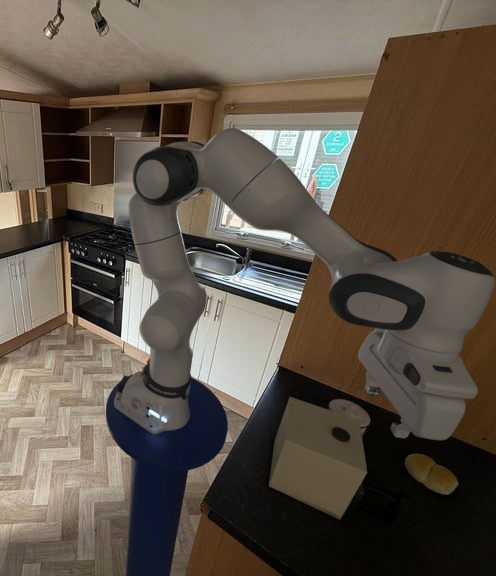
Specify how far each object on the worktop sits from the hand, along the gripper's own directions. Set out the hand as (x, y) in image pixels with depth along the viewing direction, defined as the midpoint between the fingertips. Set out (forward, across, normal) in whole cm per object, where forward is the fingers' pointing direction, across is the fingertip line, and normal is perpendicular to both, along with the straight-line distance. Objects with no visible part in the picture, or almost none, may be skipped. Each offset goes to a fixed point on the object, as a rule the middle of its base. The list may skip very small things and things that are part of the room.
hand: (382, 412), depth 57 cm
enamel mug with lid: (+29, -22, +8) cm, 37 cm away
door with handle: (+27, -4, 0) cm, 28 cm away
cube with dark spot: (+28, -6, -5) cm, 29 cm away
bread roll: (+29, -13, +24) cm, 40 cm away
